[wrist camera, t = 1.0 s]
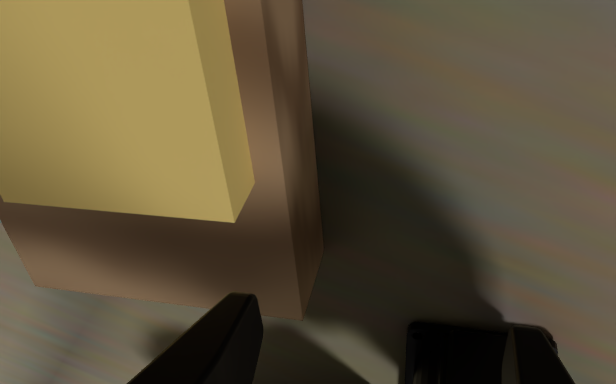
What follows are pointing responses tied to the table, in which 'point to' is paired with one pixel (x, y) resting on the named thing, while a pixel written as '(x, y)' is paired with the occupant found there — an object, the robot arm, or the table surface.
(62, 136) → the yellow block
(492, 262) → the table surface
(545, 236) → the table surface
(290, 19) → the brown wooden block
